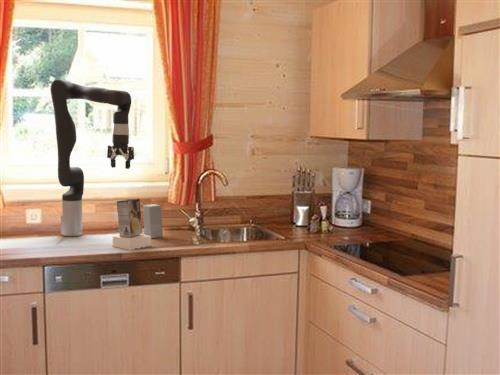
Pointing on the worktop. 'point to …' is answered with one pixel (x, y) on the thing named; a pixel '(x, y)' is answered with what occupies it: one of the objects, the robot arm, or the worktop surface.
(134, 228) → the coffee box
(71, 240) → the worktop surface
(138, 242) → the cream block
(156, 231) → the skincare box
